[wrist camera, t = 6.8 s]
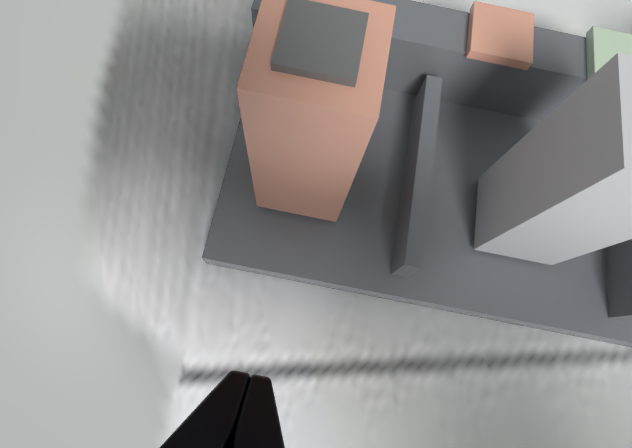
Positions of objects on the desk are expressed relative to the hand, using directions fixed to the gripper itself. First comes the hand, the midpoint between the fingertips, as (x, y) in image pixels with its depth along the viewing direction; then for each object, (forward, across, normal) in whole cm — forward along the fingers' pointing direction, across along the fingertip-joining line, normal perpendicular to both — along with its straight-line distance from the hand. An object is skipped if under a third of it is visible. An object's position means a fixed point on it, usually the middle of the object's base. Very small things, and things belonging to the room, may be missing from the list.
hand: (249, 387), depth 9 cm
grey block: (+14, -11, 0) cm, 18 cm away
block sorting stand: (+16, -11, 0) cm, 20 cm away
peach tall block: (+14, 0, +1) cm, 14 cm away
